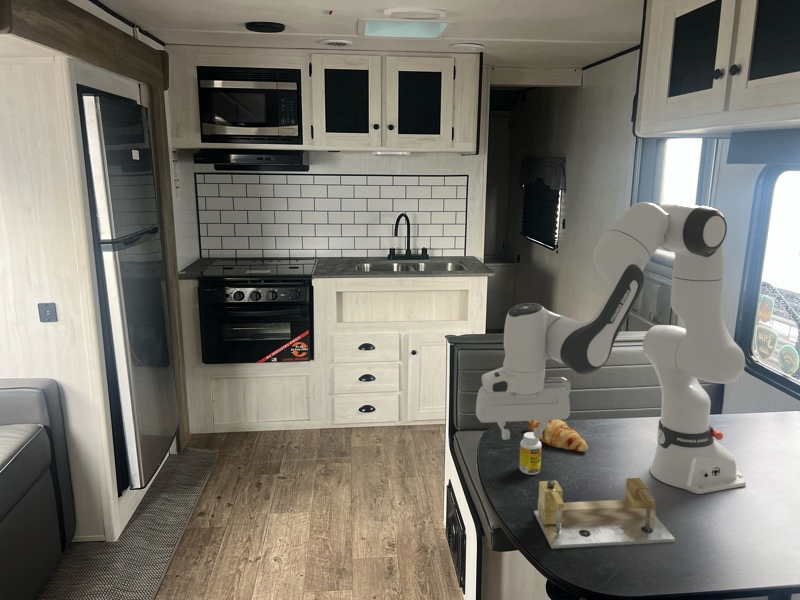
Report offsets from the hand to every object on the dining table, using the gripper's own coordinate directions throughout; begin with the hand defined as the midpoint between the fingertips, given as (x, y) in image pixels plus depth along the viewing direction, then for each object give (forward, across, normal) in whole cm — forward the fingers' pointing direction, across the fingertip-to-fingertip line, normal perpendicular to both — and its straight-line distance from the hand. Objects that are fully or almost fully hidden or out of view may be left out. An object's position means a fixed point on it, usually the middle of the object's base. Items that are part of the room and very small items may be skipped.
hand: (521, 437), depth 130 cm
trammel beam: (+20, -18, +2) cm, 27 cm away
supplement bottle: (+21, -9, -24) cm, 33 cm away
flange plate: (+21, -18, +3) cm, 28 cm away
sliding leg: (+20, -7, +2) cm, 21 cm away
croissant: (+22, -21, -40) cm, 50 cm away
